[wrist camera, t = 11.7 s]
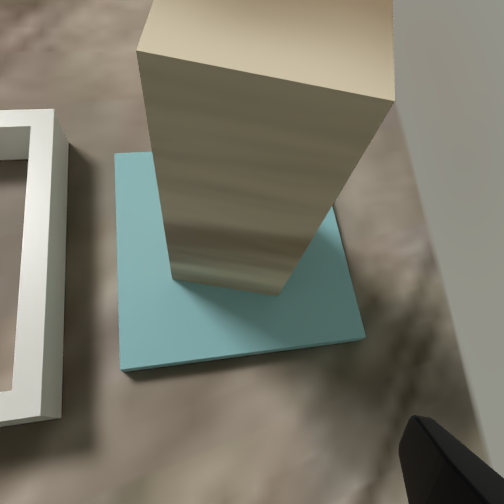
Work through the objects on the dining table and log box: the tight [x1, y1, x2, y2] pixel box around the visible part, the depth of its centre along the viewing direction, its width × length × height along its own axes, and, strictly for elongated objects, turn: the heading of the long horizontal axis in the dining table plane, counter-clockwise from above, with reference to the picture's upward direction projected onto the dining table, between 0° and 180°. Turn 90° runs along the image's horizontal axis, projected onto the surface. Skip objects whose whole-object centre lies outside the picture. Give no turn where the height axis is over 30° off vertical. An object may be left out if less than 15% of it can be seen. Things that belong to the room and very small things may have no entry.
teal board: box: [115, 152, 366, 372], centre depth 21 cm, size 11×11×1 cm
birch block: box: [136, 0, 395, 296], centre depth 15 cm, size 5×5×12 cm
